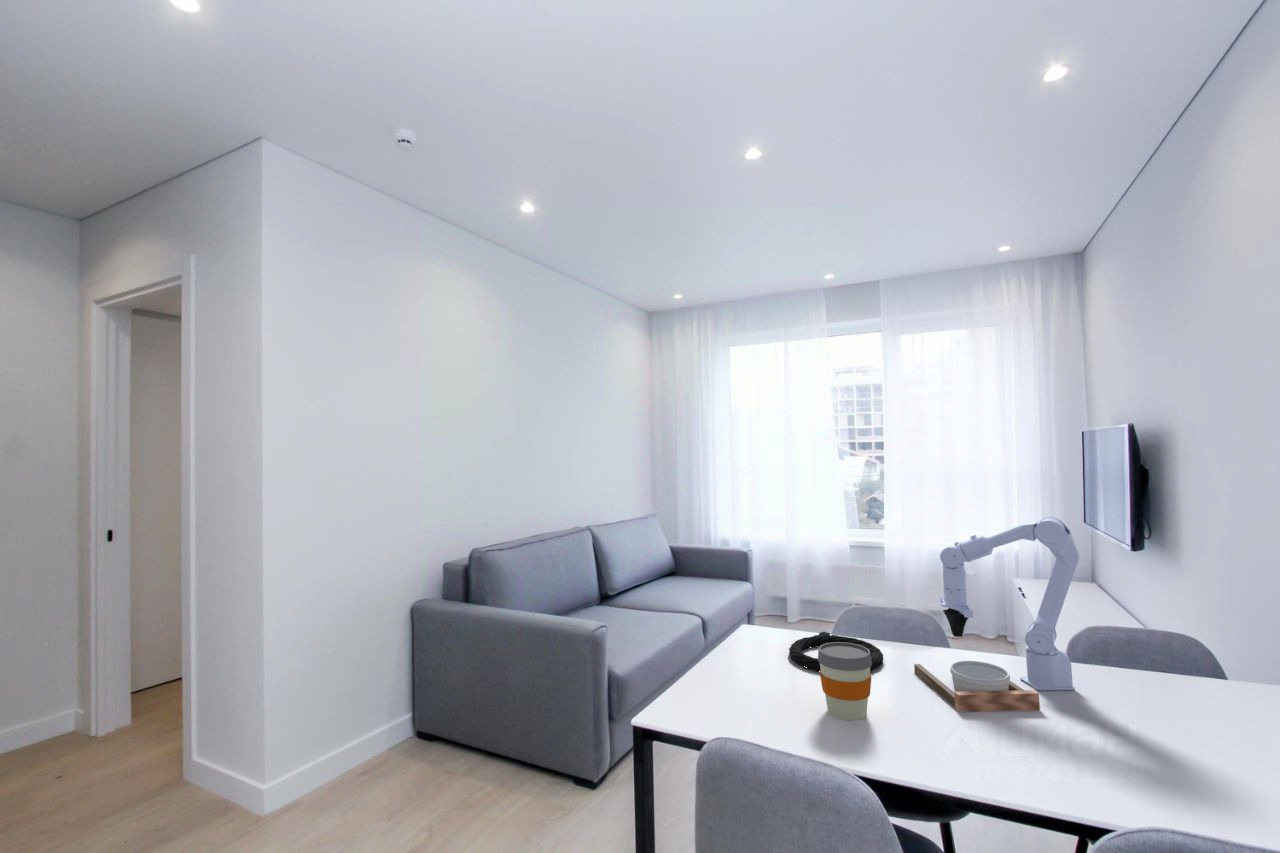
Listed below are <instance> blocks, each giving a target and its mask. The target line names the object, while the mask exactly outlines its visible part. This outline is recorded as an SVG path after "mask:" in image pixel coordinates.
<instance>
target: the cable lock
mask: <svg viewBox="0 0 1280 853" xmlns="http://www.w3.org/2000/svg"><path fill="white" fill-rule="evenodd" d="M831 642H846V643H853V644H858V645H861V646H864V647H866V648H867V649H869V650H870V655H871V661H872V666H871V667H870V673H871V672H873V671H875V670H877V669H878V668H879V667H881V666H882V665H883V661H884V654H883V652H882V651H881V650H880V648H878V647H877V646H875V645H873V644H872V643H870V642H868V641H866V640H862V639H858V638H855V637H849V636H848V637H847V636H841V635H837V634H835V635H834V634H831V633H830V632H827V631H821V632H818V634H815V635H813V636H807V637H803V638H800V639H797V640H795V641H793V643H792V644H790V646H789V648H788V650H789V652H788V656H790V659H792V661H793V662H794V663H795V662H796V663H795V664H797V665H799V666H801V665H802V666H801V667H803V666H805V667H807V668H810V669H809V670H811V669H813V670H812V671H814V670H817V671H816V672H818V671H820V669H821V667H820V663H819V661H818V657H817V658H816V657H812V656H809V655H807V654H805V653H803V652H804V651H806V650H809V649H808V648H810V647H814V648H817V647H816V646H821V645H823V644H826V643H831ZM805 649H806V650H805ZM810 649H811V648H810ZM803 650H804V651H803ZM807 668H806V669H807Z"/></svg>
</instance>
